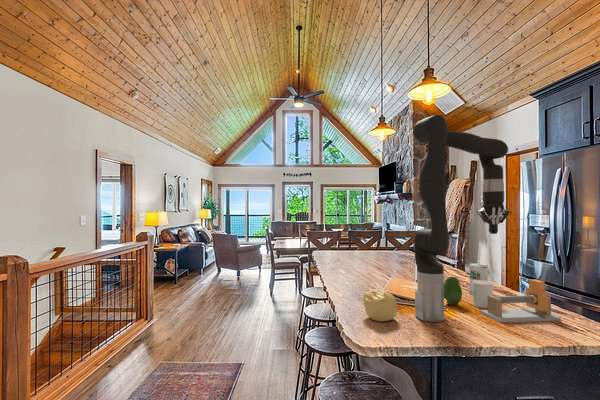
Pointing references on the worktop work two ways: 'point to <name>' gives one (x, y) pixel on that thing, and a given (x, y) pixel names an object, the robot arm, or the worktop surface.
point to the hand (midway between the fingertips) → (493, 233)
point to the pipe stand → (517, 310)
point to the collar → (538, 289)
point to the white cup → (481, 292)
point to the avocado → (452, 291)
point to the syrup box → (478, 273)
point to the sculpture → (380, 305)
